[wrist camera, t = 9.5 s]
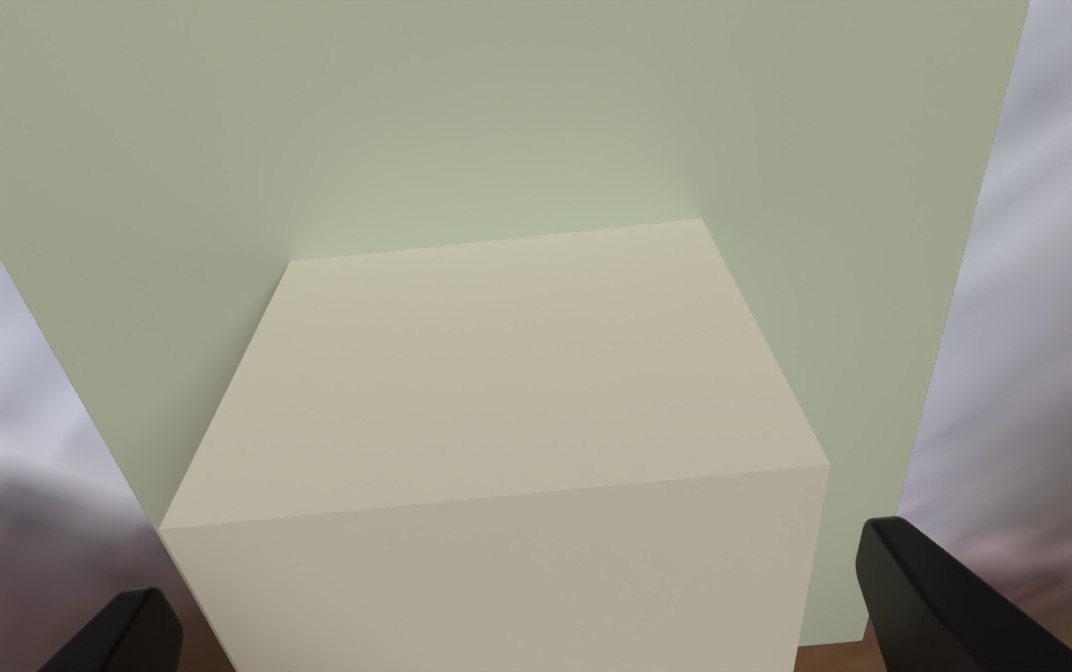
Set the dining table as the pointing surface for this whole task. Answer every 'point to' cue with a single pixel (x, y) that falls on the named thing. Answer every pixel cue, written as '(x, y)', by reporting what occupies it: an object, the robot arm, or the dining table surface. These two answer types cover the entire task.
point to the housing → (507, 467)
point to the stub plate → (499, 186)
